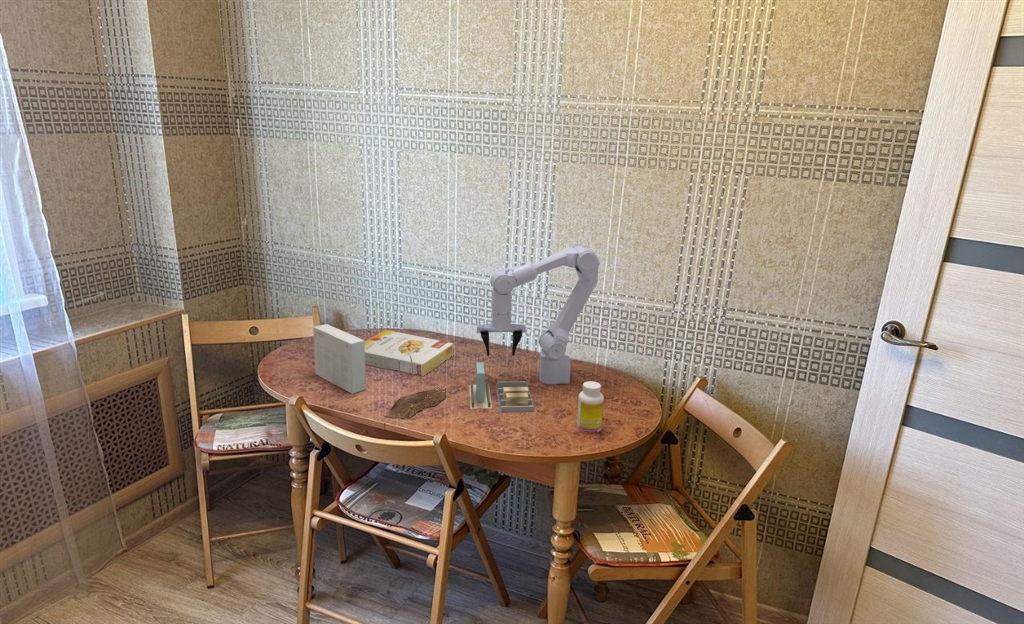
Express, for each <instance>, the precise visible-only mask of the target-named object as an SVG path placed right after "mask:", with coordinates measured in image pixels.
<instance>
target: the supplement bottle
mask: <svg viewBox="0 0 1024 624" xmlns="http://www.w3.org/2000/svg"><path fill="white" fill-rule="evenodd" d="M601 388H602V385H601V383H599V382H596V381H589V380H588V381H585V382H583V384H582V391H580V392H579V394H578V401H577V402H578V403H577V416H576V418H577V419H576V426H577V428H578V429H579V430H582V431H586V432H596V431H597V433H599V432H601V430H602V425H603V413H604V412H603V411H604V399H605V398H604V395H603V394H602V392H601V390H602V389H601Z"/></svg>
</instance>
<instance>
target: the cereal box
mask: <svg viewBox="0 0 1024 624" xmlns="http://www.w3.org/2000/svg"><path fill="white" fill-rule="evenodd" d="M364 344H365V365H368V366H372V367H377V368H381V369H385V368H386V370H390V369H391V371H395V370H398V371H397V372H400V371H402V372H401V373H404V372H407V373H406V374H409V373H412V374H411V375H414V374H417V375H416V376H419V375H422V376H421V377H425V376H427V375H428V374H429V372H430V371H431V370H432V371H434V370H435V369H436V368H435V367H437V366H438V367H440V366H441V365H442V364H444V363H445V362H446V361H445V360H447V359H448V360H450V359H451V358H452V357H453V356H454V343H453V342H449V341H444V340H439V339H434V338H428V337H424V336H419V335H413V334H409V333H403V332H400V331H399V332H398V331H394V330H388V329H384V330H382V331H380V332H378V333H376V334H375V335H373V336H371V337H370V338H368V339H366V340H364ZM451 356H452V357H451ZM450 357H451V358H450ZM448 360H447V361H448ZM444 361H445V362H444ZM443 362H444V363H443ZM441 363H442V364H441ZM440 364H441V365H440ZM439 365H440V366H439ZM438 367H437V368H438ZM434 368H435V369H434ZM392 369H393V370H392ZM433 369H434V370H433ZM432 371H431V372H432ZM431 372H430V373H431ZM427 373H428V374H427ZM426 374H427V375H426ZM424 375H425V376H424Z"/></svg>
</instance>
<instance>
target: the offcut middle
mask: <svg viewBox="0 0 1024 624" xmlns="http://www.w3.org/2000/svg"><path fill="white" fill-rule="evenodd" d="M506 393H527V394H528V387H503V400H506Z"/></svg>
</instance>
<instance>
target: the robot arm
mask: <svg viewBox="0 0 1024 624" xmlns="http://www.w3.org/2000/svg"><path fill="white" fill-rule="evenodd" d="M519 263H520V264H518V265H515V266H513V267H510V268H509V267H506V268H505V269H504V270H497V271H496V272H494V273H493V274H492V276H491V279H490V280H489V281H490V284H491V286H492V287H493V288H492V296H491V323H485V324H477V325H476V333H477V334H480V337H481V339H482V342H483V344H484V346H485V351H486V356H488V357H489V356H490V333H512V343H511V344H512V345H511V354H512V356H515V355H516V352H517V351H516V350H517V347H518V345H519V343H520V341H521V340H522V337H523V334H526V332H527V331H526V329H527V328H526V324H517V323H512V292H513V290H514V289H515V288H517V287H520V286H522V285H525V284H528V283H531V282H532V281H535V280H536V279H537V277H538V275H539V274H542V273H546V272H547V271H550V270H553V269H557V268H561V267H563V266H565V267H568V268H572V269H575V271H576V274H577V276H578V277H577V278H578V280H577V281H576V283H575V285H574V287H573V289H572V291H571V292H570V295H569V296H568V298H567V300H566V302H565V303H564V305H563V306H562V308H561V310H560V312H559V314H558V316H557V318H556V319H555V320H554V322H553V323H552V324H550V325H549V326H548V327H547V329H546V330H545V331H544V332H542V333H541V334H540V336H539V338H538V344H539V346H540V348H541V351H540V353H539V370H538V372H539V373H538V374H539V375H538V380H539V382H541V383H543V384H545V385H557V384H570V380H571V358H570V355H567V354H566V352H567V347H568V346H567V345H568V343H569V342H570V341H569V340H570V337H569V336H570V331H571V330H572V328H573V326H574V325H575V323H576V321H577V319H578V317H579V315H580V314H581V312H582V311H583V309H584V307H585V306H586V303H587V301H588V300H589V299H590V296H591V294H592V293H593V291H594V290H595V287H596V286H597V284H598V281H599V266H600V265H601V264H600V261H599V258H598V255H597V254H596V252H594V251H593V250H590V249H588V248H587V247H586V246H585V245H583V244H581V243H578V244H574V245H573V246H568V247H565V248H564V249H562V250H560V251H558V252H556V253H554V254H552V255H550V256H547V257H545V258H542V259H541V260H538V261H536V262H534V263H533V262H530V261H526V262H525V260H523V261H520V262H519Z"/></svg>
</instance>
